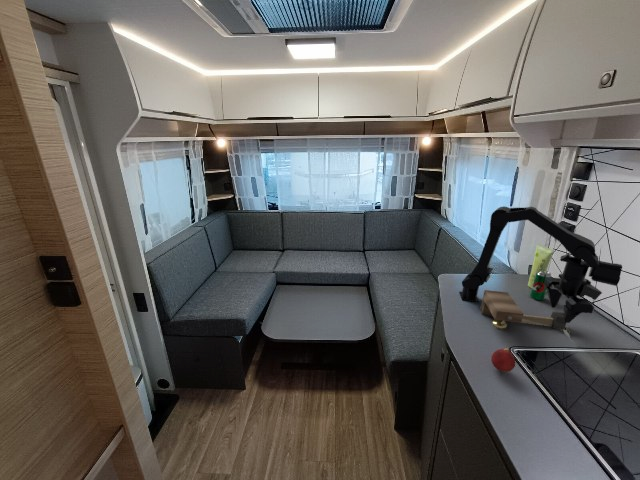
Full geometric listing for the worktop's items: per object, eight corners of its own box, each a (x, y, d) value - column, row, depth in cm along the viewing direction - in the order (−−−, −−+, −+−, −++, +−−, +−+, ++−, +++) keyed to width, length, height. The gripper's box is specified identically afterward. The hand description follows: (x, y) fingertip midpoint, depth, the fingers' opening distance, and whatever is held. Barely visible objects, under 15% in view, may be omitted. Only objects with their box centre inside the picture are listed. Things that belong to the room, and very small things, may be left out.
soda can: (546, 301, 120) (554, 275, 115) (532, 300, 121) (540, 274, 116) (540, 295, 124) (548, 270, 120) (527, 293, 125) (534, 268, 121)
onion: (493, 377, 83) (500, 354, 80) (485, 362, 88) (491, 340, 86) (515, 379, 82) (522, 357, 80) (506, 364, 88) (512, 342, 85)
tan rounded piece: (490, 321, 108) (491, 318, 107) (503, 323, 107) (504, 319, 106) (494, 329, 103) (495, 325, 103) (508, 330, 103) (509, 327, 102)
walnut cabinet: (479, 310, 114) (484, 290, 111) (502, 312, 112) (507, 292, 109) (492, 334, 100) (498, 312, 97) (518, 338, 99) (524, 315, 95)
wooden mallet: (508, 318, 109) (511, 307, 107) (559, 324, 106) (563, 312, 104) (511, 323, 106) (515, 311, 105) (564, 329, 103) (568, 317, 101)
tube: (525, 287, 131) (537, 247, 124) (526, 282, 134) (537, 243, 127) (541, 291, 128) (554, 250, 121) (541, 286, 131) (553, 246, 125)
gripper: (622, 292, 87) (604, 334, 93) (584, 265, 104) (570, 303, 110) (579, 288, 90) (564, 329, 95) (549, 262, 107) (537, 299, 112)
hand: (559, 314), depth 103 cm, fingers open, 9 cm apart
